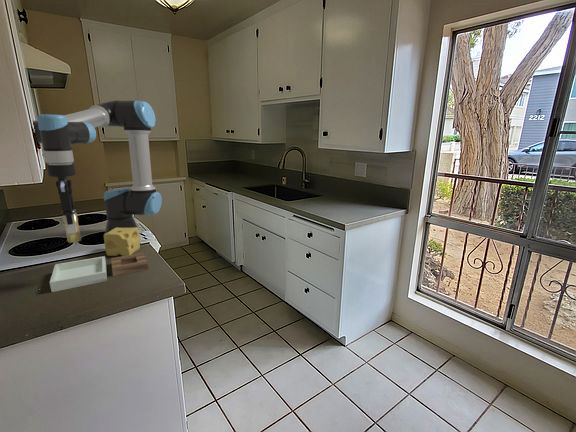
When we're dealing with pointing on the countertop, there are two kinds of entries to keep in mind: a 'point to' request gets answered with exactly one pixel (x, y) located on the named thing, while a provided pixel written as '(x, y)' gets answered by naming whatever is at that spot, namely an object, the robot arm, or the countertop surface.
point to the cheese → (122, 241)
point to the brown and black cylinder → (76, 236)
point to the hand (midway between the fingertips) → (72, 230)
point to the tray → (78, 273)
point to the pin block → (129, 264)
